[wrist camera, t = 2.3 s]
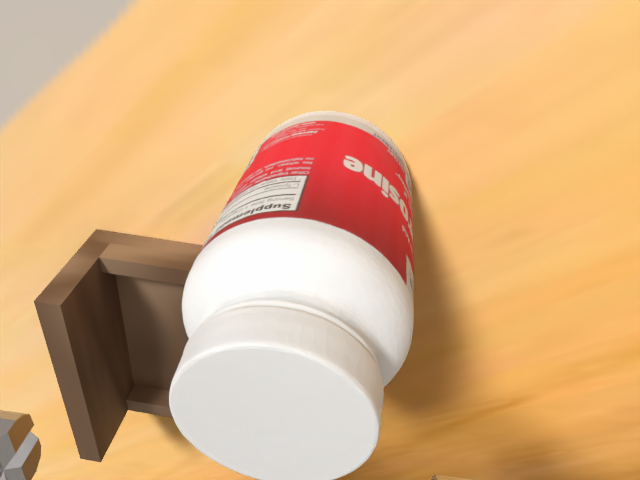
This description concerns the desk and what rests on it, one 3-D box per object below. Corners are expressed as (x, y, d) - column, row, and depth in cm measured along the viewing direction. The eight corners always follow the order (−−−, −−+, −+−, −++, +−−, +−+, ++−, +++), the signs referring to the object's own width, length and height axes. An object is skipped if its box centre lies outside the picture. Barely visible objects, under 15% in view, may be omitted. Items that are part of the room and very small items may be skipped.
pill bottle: (431, 225, 21) (451, 490, 12) (292, 262, 23) (219, 514, 14) (378, 78, 18) (352, 285, 9) (224, 136, 20) (75, 352, 11)
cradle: (321, 263, 23) (303, 345, 19) (304, 410, 29) (288, 495, 25) (96, 229, 23) (34, 301, 19) (124, 379, 29) (80, 458, 25)
